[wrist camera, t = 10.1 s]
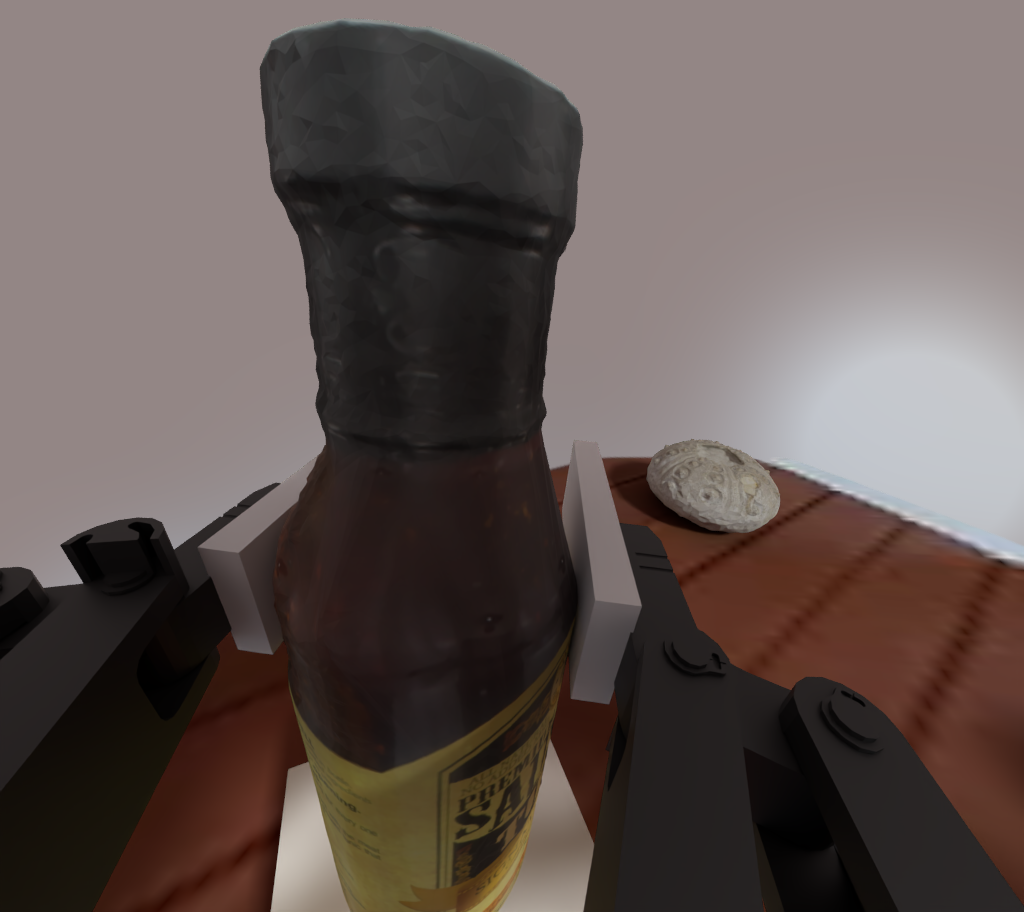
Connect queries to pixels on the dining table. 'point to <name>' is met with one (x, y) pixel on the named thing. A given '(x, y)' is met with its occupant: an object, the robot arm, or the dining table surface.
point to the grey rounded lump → (714, 486)
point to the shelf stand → (533, 899)
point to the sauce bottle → (424, 450)
